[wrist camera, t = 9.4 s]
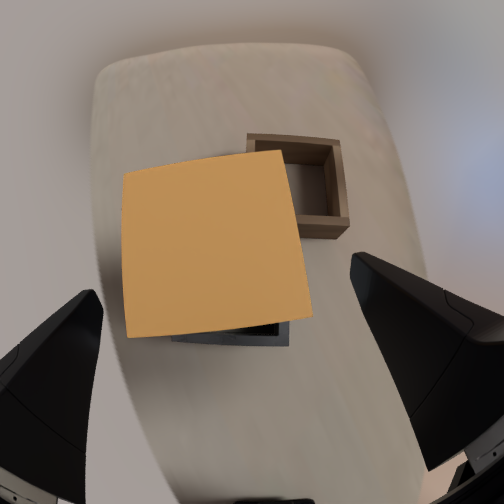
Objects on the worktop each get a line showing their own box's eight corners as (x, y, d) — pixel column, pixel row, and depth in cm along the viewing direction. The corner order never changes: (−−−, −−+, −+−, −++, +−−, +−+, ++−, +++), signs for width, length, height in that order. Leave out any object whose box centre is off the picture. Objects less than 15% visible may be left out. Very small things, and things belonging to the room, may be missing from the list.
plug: (270, 319, 19) (313, 316, 6) (206, 327, 19) (127, 337, 6) (261, 256, 20) (280, 149, 7) (198, 264, 20) (123, 173, 7)
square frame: (336, 239, 20) (349, 226, 17) (243, 235, 20) (243, 221, 17) (329, 160, 22) (339, 140, 19) (247, 155, 22) (247, 133, 19)
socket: (282, 342, 19) (288, 346, 16) (183, 338, 19) (171, 341, 16) (284, 245, 20) (289, 232, 17) (188, 242, 20) (179, 229, 17)
